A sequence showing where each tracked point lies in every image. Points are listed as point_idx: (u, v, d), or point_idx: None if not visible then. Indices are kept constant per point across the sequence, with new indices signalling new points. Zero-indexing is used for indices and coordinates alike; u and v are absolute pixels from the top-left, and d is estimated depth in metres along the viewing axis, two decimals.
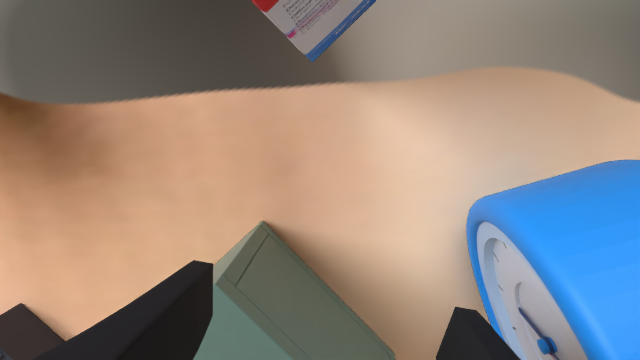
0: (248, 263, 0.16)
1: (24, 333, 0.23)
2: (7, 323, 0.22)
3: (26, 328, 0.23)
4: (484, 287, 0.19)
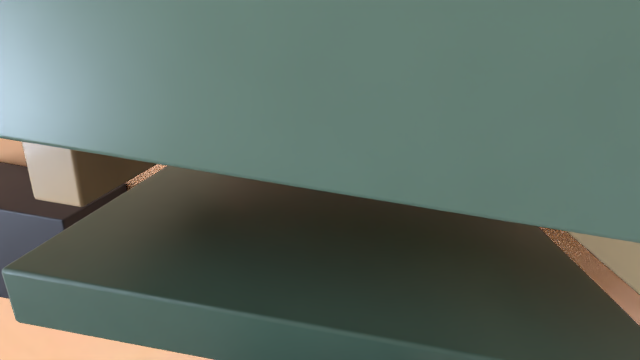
0: None
1: (0, 181, 0.11)
2: None
3: (3, 176, 0.12)
4: None
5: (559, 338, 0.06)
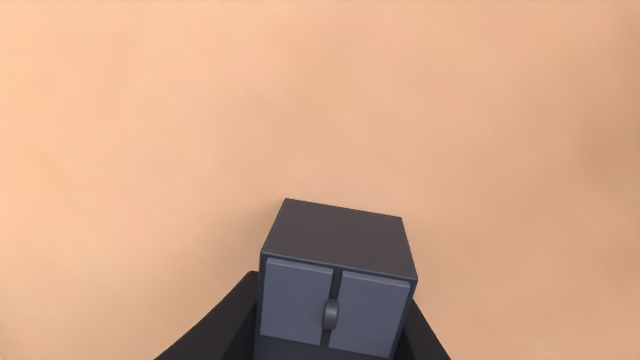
0: None
1: None
2: None
3: None
4: None
5: None
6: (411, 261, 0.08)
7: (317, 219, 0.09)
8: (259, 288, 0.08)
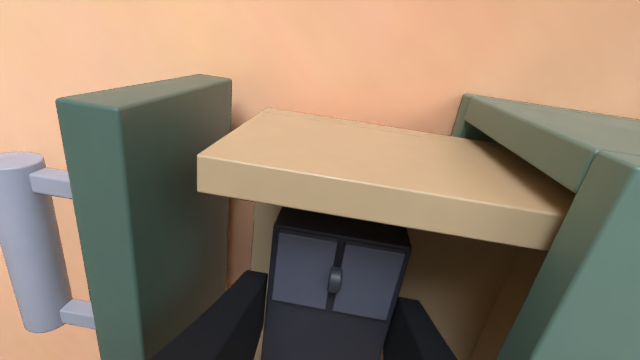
0: None
1: None
2: None
3: None
4: None
5: None
6: (406, 234, 0.09)
7: None
8: (272, 257, 0.09)
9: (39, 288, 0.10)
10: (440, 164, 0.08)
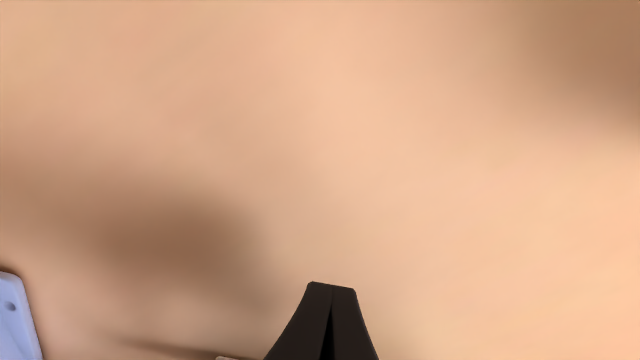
0: None
1: None
2: None
3: None
4: None
5: None
6: None
7: None
8: None
9: None
10: None
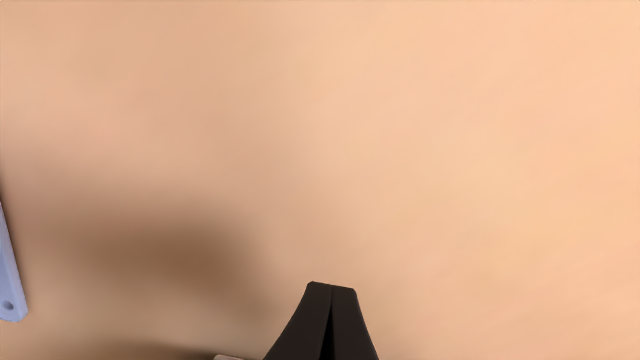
0: None
1: None
2: None
3: None
4: None
5: None
6: None
7: None
8: None
9: None
10: None
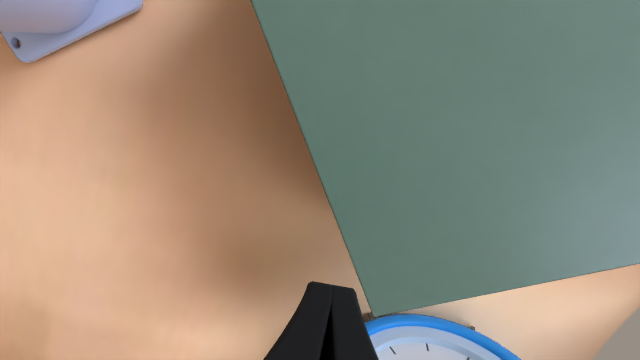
0: None
1: None
2: None
3: None
4: (418, 325, 0.21)
5: None
6: None
7: None
8: None
9: None
10: None
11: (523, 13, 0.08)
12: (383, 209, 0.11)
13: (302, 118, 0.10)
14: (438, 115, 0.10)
